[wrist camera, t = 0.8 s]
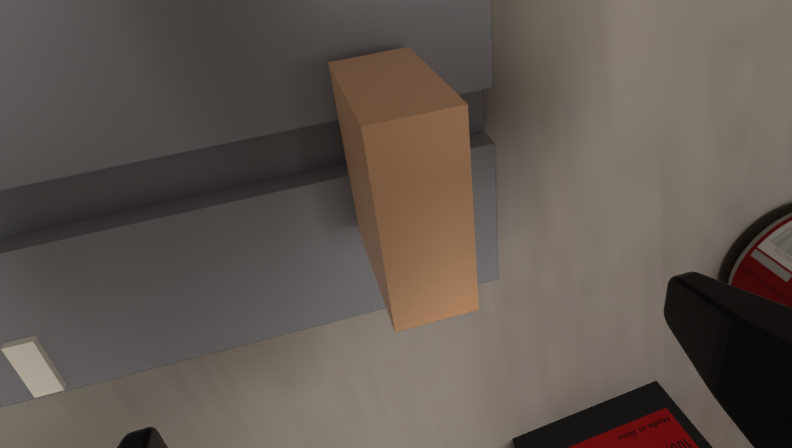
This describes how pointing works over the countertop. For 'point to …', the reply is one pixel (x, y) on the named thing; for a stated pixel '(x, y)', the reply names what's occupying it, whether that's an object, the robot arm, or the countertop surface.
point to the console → (196, 174)
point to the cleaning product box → (621, 425)
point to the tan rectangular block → (410, 183)
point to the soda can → (767, 263)
